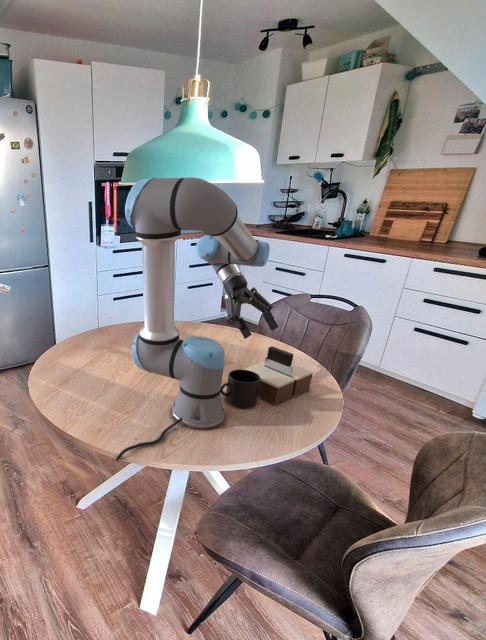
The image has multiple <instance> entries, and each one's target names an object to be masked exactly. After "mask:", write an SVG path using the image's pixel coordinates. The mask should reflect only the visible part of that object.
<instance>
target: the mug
mask: <svg viewBox="0 0 486 640" xmlns="http://www.w3.org/2000/svg"><path fill="white" fill-rule="evenodd" d="M242 369H243V368H242ZM242 369H241V368H240V369H232V370H230V371H229V372H228V375H227V382H225V383H222V384H221V392H220V395H221V396H223V397H225V401H226V403H227V404H228V405H230V406H231V407H235V408H238V409H252V408H254V407H255V406H256V405H257V402H258V398H259V397H258V390H259V384H260V376H259V375H258V374H257V373H255V372H252V371H249V370H242ZM225 387H226V391H224V388H225Z"/></svg>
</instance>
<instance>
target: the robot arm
mask: <svg viewBox="0 0 486 640" xmlns="http://www.w3.org/2000/svg"><path fill="white" fill-rule="evenodd" d="M124 215H125V219H126V222H127V224H128V226H130V227H131V228H133V229H135V238H136V239H137V240H138V241H139V242H140V243H141V258H142V259H141V260H142V261H141V262H142V291H143V293H142V295H143V296H142V297H143V324H144V325H143V326H142V327H141V328H140V330H139V333H137V334H136V336H135V337H134V339H133V344H132V346H131V356H132V360H133V362H134V364H135V365H136V367H137V368H139V369H141V370H143V371H146V372H148V373H151V374H155V375H158V376H159V375H160V376H163V377H166V378H170V379H174V380H176V381H179V390H178V393H177V395H176V397H175V400H174V401H173V404H172V407H171V415H172V417H173V419H174V420H175V421H174V422H173V423H172V424H170V425H169V426H167V427H166V428H165V429H164V430H163V431H162V432H161V434H160V435H159V436H158V438H157V439H155V440H150V441H146V442H140V443H137V444H134V445H131V446H128V447H126V448H124V449H123V450H122V451H120V452H119V453H118V455H117V457H116V458H115V461H119V460H120V459H121V458H122V456H123V455H124V454H125V453H126V452H128V451H131V450H134V449H136V448H139V447H145V446H152V445H155V444H158V443H159V442H160V441H162V439H163V437H164V436H165V434H166V433H167V432H168V431H169V430H171V429H172V428H173V427H176V425H178V424H181V425H182V426H185V427H188V428H191V429H199V430H208V429H212V428H216V427H218V426H221V424H222V423H223V422H224V420H225V409H224V406H223V399H222V394H221V387H222V385H223V383H222V382H223V377H224V376H223V375H224V367H225V364H226V361H225V353H226V352H225V349H224V347H223V346H222V344H221V343H220V342H218V341H216V340H214V339H212V338H209V337H206V336H201V335H199V336H196V335H191V336H187V337H185V338H184V339H180V329H179V328H178V327H177V326H176V325H175V285H176V284H175V281H176V280H175V279H176V277H175V276H176V275H175V274H176V272H175V271H176V265H175V264H176V241H177V240H178V239H179V238H180V237H181V236H182V231H195V232H196V231H197V232H203V233H204V234H205V235H203V236H201V237H199V239H198V240H197V242H196V244H195V253H196V254H197V256H198V257H199V258H200V259H201V260H202V261H204V262H206V263H208V264H209V265H211V267H212V268H213V270H214V272H215V274H216V275H217V278H218V279H219V281H220V283H221V285H222V286H223V289H224V291H225V292H226V294H225V295H223V299H224V301H225V309H226V318H227V321H229V322H231V323H232V324H233V323H234V324H235V325H236V327H237V329H238V330H239V331H240V333H241V335H242V337H243V338H244V340H245V339H248V338H249V337H251V336H252V332H251V330H250V329H249V327H248V325H247V323H246V321H245V320H244V318H243V317H241V311H242V305H245V304H247V305H251V306H252V307H254V308H255V309H256V310H258V311H259V312H260V313H262V317H263V318H264V320H265V322H266V324H267V326H268V327H269V329H270V331H271V332H274V331H275V330H276V329H278V328H279V325H278V323H277V321H276V320H275V317H274V315H273V314H272V312H271V311H272V310H273V309H274V305H272V304H271V303H270V302H269V301H268V300H267V299H265V297H264V296H263V295H262V294H261V293H260V292H259V291H258V290H257V288H256V287H255V286H253V287H252V288H250V289H249V288H248V281H247V279H246V278H245V276H244V274H243V272H242V270H241V268H240V266H246V267H251V268H254V267H257V268H258V267H260V268H261V267H265V266H266V264H267V263H268V260H269V257H270V251H271V250H270V244H269V243H268V242H267V241H262V240H259V241H257V240H256V239H255V238H254V236H253V234H251V233H252V232H250V230H249V229H248V228H247V227H246V225H245V223H244V222H243V221H242V219H241V218H240V217H239V210H238V206H237V204H236V203H235V201H234V199H232V197H231V196H230V195H228V194H227V193H226V192H225V191H224V190H223V189H221V188H220V187H219V186H217V185H215V184H213V183H212V182H210V181H208V180H205V179H203V178H199V177H190V176H189V177H150V178H144V179H140V180H137V182H135V183H134V184H133V186H132V187H131V188H130V191H129V192H128V195H127V197H126V201H125V206H124Z"/></svg>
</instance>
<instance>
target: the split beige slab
mask: <svg viewBox="0 0 486 640" xmlns="http://www.w3.org/2000/svg"><path fill="white" fill-rule="evenodd" d="M264 363H265V361H262V362H260V363H257V364H254V365H251V366H248V367H246V368H242V370H249V371H252V372H255V373H257V374H258V375H259V376H260V384H259V390H258V397H257V398H259V399H261V400H263V401H265V402H267V403H269V404H270V405H273V406H276V405H279V404H281V403H283V402H286V401H288V400H290V399H292V397H293V398H295V397H296V396H299V395H301V394H303V393H306V392H308V391H309V390H310V388H311V387H310V386H311V382H312V379H313V375H314V371H312V370H309V369H307V368H304V367H302V366H299V365H297V364H294V363H292V365H291V367H293V369H292V374H291V377H289V376H286V375H284V374H282V373H279V372H277V371H274V370H272V369H270V368H267V367H265V366H264Z"/></svg>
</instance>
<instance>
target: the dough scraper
mask: <svg viewBox="0 0 486 640" xmlns="http://www.w3.org/2000/svg"><path fill="white" fill-rule="evenodd" d="M293 359H294V353H292V352H289V351H287V350H284V349H281V348H278V347H275V346H273V345H272V346H269V347H268V348H267V354H266V356H265V358H264V362H265V363H264V366H265V367H267V368H270V369H272V370H274V371H277V372H279V373H282V374H284V375H286V376H289V377H291V374H292V369H293V367H291V365H292V364H293Z"/></svg>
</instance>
